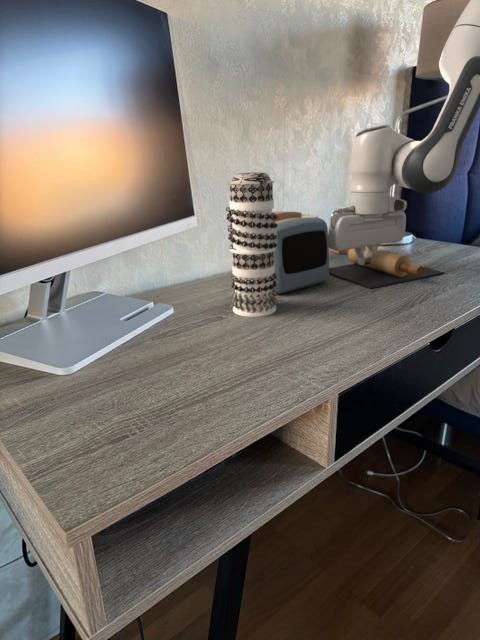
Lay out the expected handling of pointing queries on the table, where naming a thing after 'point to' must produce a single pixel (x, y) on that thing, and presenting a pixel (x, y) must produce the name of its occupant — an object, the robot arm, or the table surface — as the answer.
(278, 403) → the table surface
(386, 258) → the rolling pin
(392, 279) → the pastry mat
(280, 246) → the alarm clock
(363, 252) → the robot arm
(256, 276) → the white patterned cylinder
